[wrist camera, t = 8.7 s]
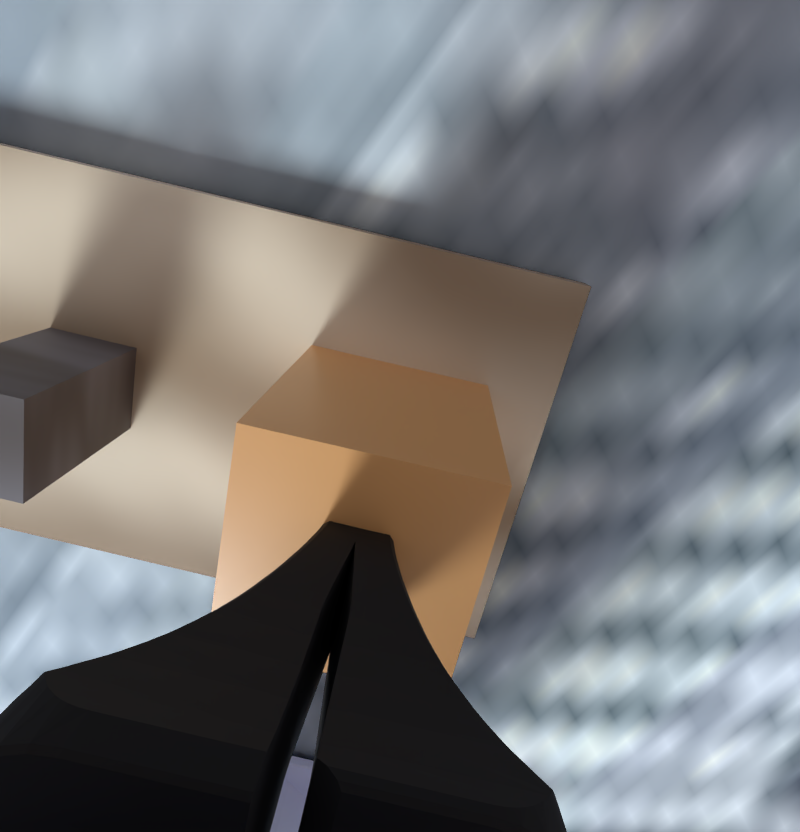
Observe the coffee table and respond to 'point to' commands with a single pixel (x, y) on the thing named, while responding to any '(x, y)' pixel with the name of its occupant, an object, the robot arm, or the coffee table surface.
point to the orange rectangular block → (370, 480)
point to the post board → (222, 346)
